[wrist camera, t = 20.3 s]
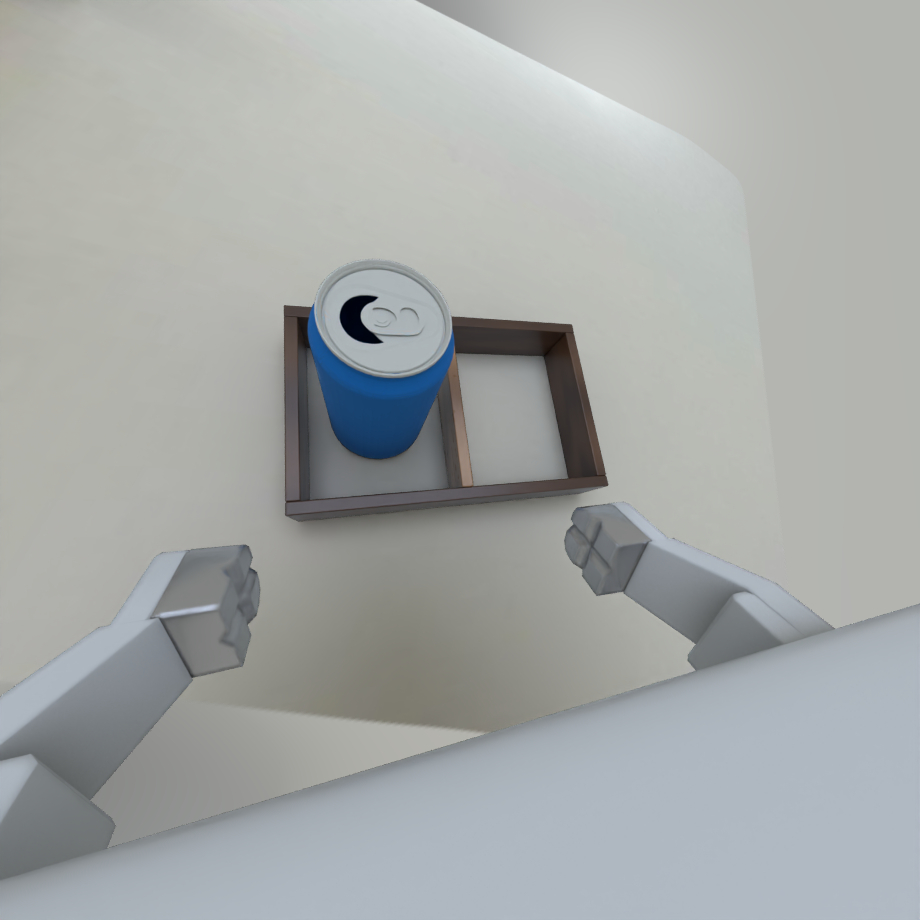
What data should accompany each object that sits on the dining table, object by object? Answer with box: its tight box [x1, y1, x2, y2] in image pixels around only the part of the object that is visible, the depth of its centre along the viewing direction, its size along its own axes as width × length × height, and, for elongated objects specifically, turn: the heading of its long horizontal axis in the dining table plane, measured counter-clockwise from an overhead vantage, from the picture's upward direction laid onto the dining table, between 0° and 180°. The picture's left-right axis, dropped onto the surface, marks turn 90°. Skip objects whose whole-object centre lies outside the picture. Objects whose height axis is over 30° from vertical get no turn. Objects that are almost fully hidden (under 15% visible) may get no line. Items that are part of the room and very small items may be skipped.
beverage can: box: [308, 259, 454, 459], centre depth 20 cm, size 6×6×12 cm
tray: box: [284, 305, 608, 521], centre depth 25 cm, size 14×22×4 cm, turn 98°
